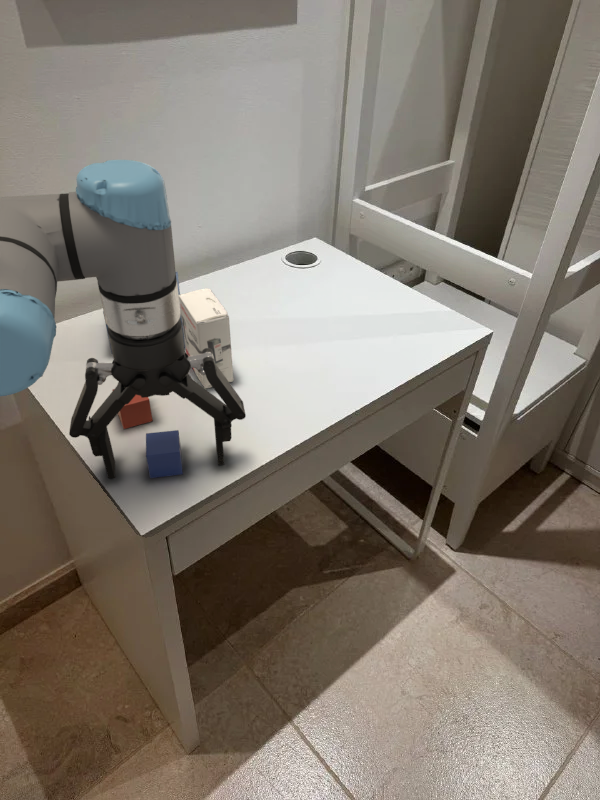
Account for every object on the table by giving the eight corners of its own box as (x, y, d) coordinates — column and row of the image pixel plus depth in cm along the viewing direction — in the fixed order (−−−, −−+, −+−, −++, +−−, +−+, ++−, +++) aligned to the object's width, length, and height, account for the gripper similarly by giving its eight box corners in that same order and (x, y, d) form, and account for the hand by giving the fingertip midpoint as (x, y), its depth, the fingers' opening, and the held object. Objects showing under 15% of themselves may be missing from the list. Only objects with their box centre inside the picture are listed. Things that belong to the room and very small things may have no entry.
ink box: (184, 359, 91) (177, 292, 83) (214, 351, 93) (210, 285, 85) (203, 391, 85) (197, 322, 77) (234, 382, 87) (232, 314, 79)
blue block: (150, 478, 72) (145, 455, 69) (149, 455, 75) (145, 433, 72) (182, 474, 72) (179, 452, 70) (181, 452, 75) (178, 429, 73)
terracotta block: (123, 429, 78) (119, 407, 75) (116, 411, 81) (112, 389, 78) (152, 421, 80) (149, 399, 77) (145, 403, 82) (141, 382, 80)
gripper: (9, 352, 55) (60, 499, 68) (269, 331, 59) (268, 473, 73) (21, 311, 60) (67, 454, 74) (258, 295, 65) (259, 432, 78)
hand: (166, 463), depth 73 cm, fingers open, 13 cm apart
